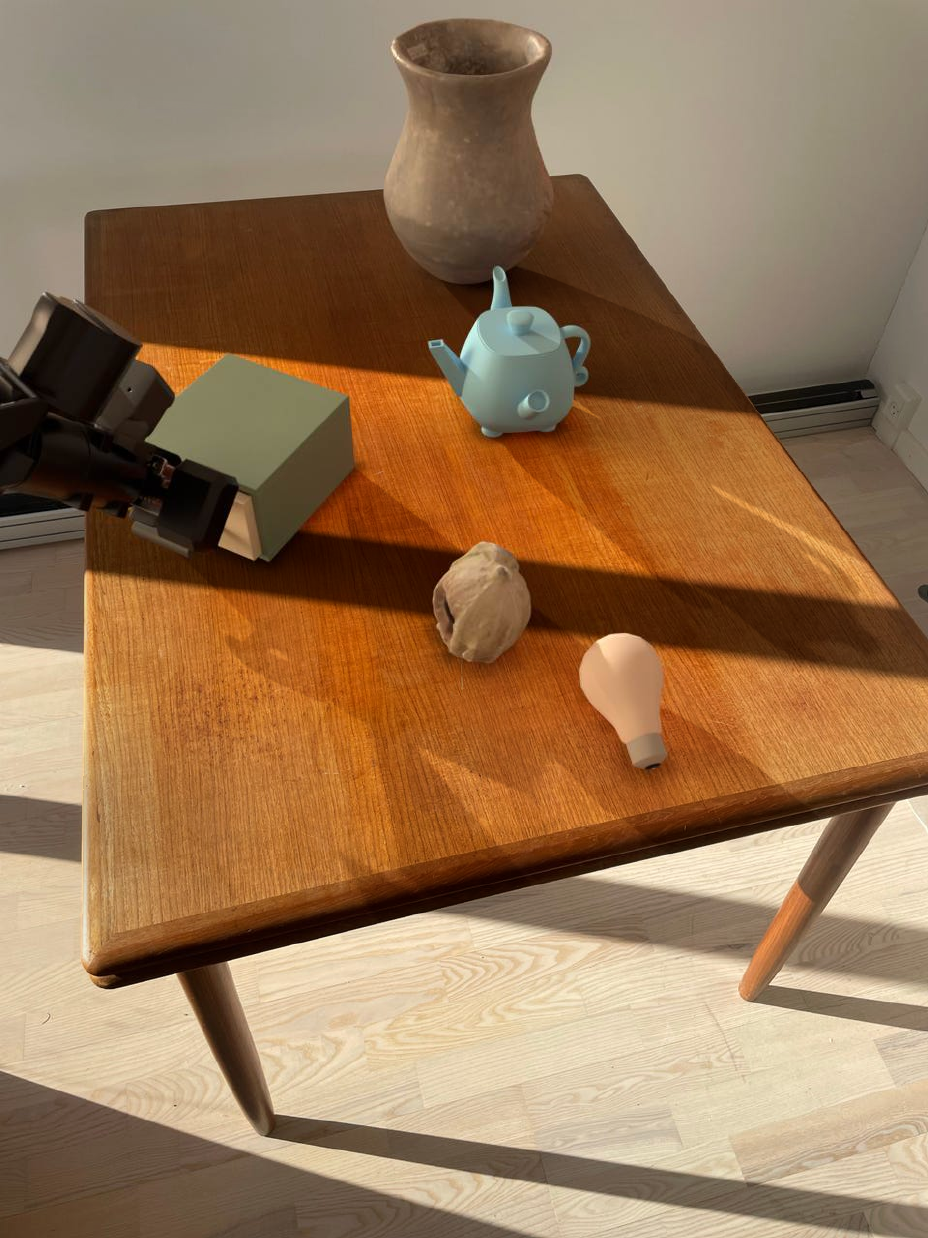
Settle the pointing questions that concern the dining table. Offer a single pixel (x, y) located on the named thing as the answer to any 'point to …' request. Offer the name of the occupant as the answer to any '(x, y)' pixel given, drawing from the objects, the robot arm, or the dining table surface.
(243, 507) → the drawer
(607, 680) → the light bulb
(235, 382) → the cabinet
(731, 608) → the dining table surface
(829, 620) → the dining table surface
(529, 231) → the vase
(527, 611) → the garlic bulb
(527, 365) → the teapot
